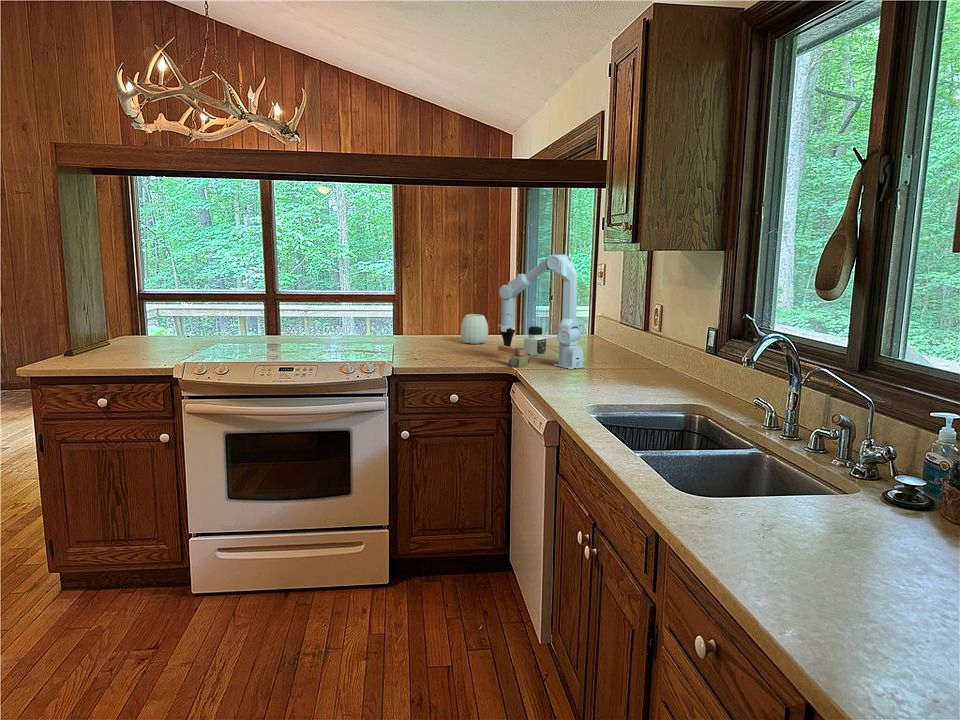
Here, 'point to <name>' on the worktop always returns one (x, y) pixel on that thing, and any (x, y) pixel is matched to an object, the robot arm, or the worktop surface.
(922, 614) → the worktop surface
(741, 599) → the worktop surface
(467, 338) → the cup
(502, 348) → the lever
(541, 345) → the medicine bottle
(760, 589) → the worktop surface
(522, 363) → the valve
